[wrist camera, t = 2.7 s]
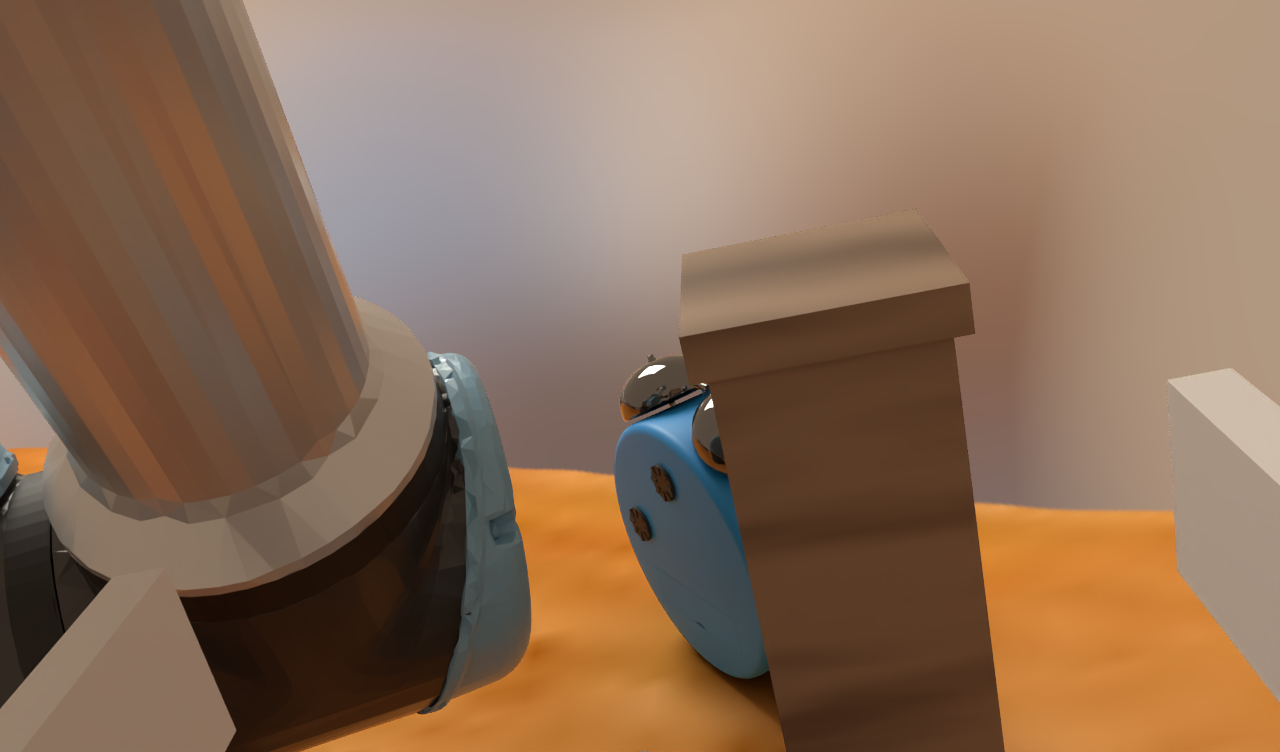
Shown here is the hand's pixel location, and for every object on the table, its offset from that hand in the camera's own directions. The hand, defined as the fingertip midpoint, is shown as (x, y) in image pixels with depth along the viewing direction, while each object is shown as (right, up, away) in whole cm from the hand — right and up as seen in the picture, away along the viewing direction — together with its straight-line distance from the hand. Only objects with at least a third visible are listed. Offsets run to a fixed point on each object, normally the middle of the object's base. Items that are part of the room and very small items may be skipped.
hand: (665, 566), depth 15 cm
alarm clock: (+6, -11, +42) cm, 44 cm away
